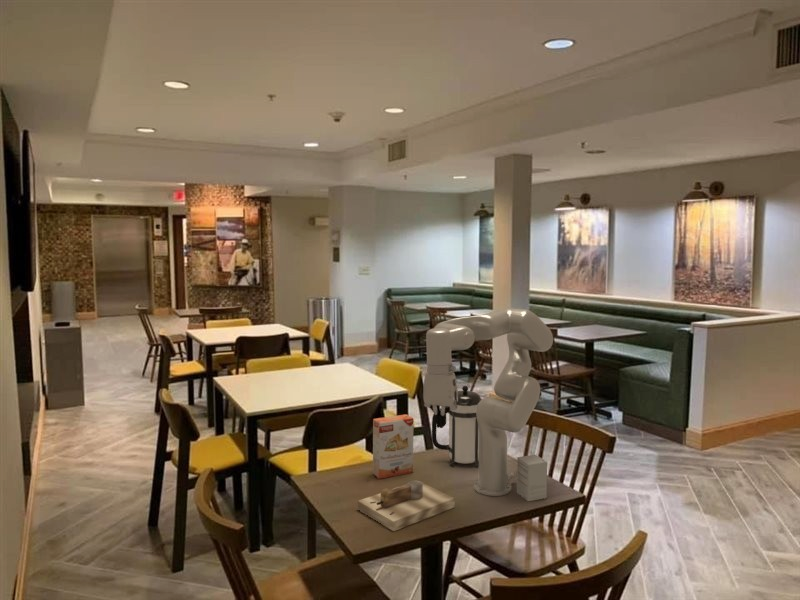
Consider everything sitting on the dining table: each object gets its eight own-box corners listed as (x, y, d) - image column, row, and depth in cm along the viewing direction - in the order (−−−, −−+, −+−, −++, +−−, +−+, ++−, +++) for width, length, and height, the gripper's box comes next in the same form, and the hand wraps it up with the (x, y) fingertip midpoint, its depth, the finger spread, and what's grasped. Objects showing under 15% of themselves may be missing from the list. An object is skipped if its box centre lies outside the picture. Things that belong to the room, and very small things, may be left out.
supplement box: (535, 489, 202) (535, 454, 200) (547, 498, 195) (548, 461, 193) (516, 492, 199) (516, 456, 198) (527, 501, 192) (528, 464, 191)
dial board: (417, 489, 202) (417, 480, 202) (454, 507, 188) (454, 497, 188) (357, 509, 186) (357, 500, 186) (393, 531, 172) (393, 520, 172)
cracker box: (379, 480, 210) (379, 422, 208) (372, 474, 215) (372, 418, 213) (414, 473, 216) (414, 417, 214) (406, 467, 222) (406, 413, 219)
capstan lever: (415, 491, 193) (415, 476, 192) (425, 496, 189) (425, 481, 188) (372, 505, 182) (372, 490, 181) (382, 511, 178) (382, 495, 177)
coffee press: (463, 451, 238) (464, 378, 235) (492, 463, 225) (493, 386, 222) (430, 461, 228) (430, 385, 225) (458, 474, 215) (458, 393, 212)
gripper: (466, 367, 181) (468, 425, 183) (422, 364, 187) (424, 419, 190) (457, 373, 174) (459, 433, 176) (412, 369, 181) (414, 427, 183)
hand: (441, 426), depth 183 cm, fingers closed
